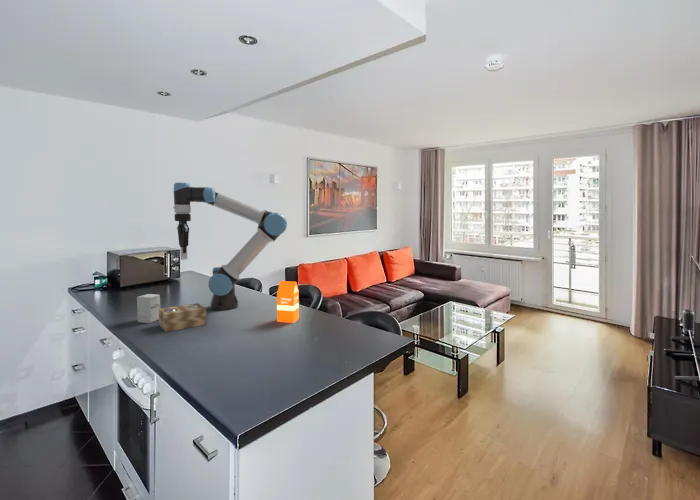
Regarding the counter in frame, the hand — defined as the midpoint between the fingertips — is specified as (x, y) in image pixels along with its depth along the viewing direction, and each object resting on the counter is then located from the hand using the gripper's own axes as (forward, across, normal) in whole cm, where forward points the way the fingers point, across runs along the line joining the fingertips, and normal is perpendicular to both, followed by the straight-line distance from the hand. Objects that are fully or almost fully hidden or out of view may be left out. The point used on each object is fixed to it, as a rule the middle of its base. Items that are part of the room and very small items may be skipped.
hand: (184, 259), depth 188 cm
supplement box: (+30, 0, -17) cm, 34 cm away
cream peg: (+29, +17, -1) cm, 34 cm away
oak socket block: (+29, +17, -6) cm, 34 cm away
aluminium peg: (+29, +17, -11) cm, 36 cm away
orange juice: (+30, +40, +38) cm, 63 cm away
